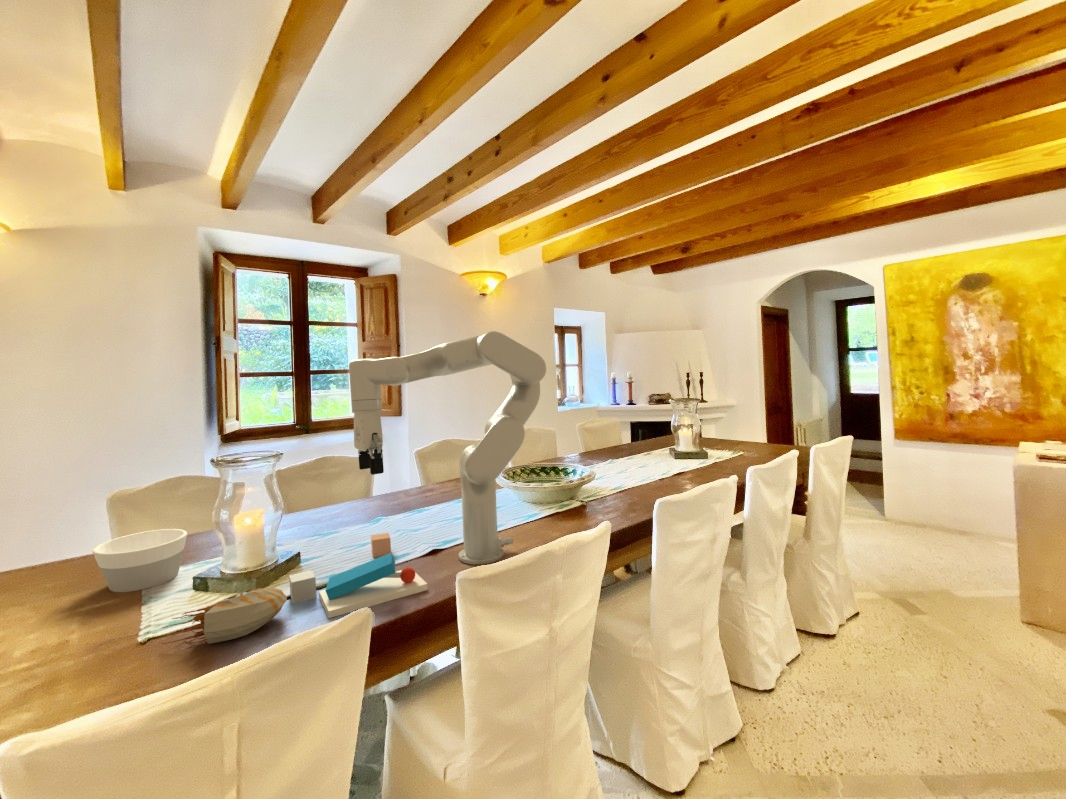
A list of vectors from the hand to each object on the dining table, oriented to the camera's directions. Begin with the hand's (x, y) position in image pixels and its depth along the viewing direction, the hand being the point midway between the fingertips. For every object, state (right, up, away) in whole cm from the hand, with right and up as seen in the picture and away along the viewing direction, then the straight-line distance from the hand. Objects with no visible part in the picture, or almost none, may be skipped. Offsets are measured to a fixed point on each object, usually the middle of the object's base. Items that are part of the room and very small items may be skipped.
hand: (371, 471), depth 125 cm
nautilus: (-19, -29, -28) cm, 45 cm away
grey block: (-12, -28, -13) cm, 33 cm away
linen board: (+5, -27, -13) cm, 30 cm away
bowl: (-60, -29, 0) cm, 66 cm away
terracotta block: (-2, -26, +14) cm, 30 cm away
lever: (+5, -26, -13) cm, 29 cm away
